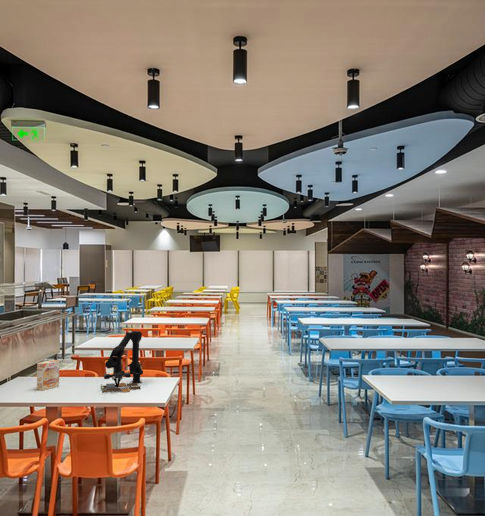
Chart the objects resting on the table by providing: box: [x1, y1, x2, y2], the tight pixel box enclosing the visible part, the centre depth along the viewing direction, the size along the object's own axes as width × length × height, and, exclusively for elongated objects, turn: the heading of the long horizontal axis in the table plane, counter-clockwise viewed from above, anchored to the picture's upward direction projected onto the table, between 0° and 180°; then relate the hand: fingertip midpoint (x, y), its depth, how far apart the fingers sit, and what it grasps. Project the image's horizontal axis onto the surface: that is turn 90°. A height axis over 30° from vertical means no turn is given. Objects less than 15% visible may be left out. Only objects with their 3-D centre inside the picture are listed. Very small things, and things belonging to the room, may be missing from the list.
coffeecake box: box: [36, 359, 60, 391], centre depth 358 cm, size 15×7×20 cm, turn 153°
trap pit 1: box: [118, 382, 127, 388], centre depth 365 cm, size 5×5×2 cm
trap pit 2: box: [121, 387, 131, 393], centre depth 349 cm, size 5×5×2 cm
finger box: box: [100, 383, 141, 394], centre depth 356 cm, size 13×27×3 cm, turn 112°
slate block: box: [105, 382, 116, 389], centre depth 353 cm, size 6×6×4 cm
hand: (117, 387), depth 355 cm, fingers closed
